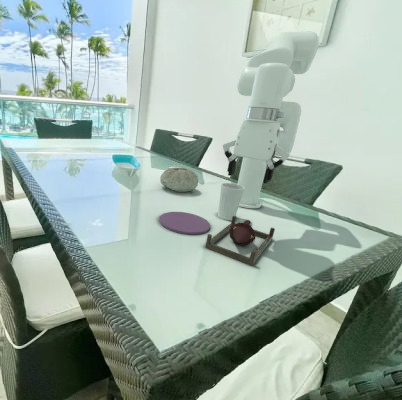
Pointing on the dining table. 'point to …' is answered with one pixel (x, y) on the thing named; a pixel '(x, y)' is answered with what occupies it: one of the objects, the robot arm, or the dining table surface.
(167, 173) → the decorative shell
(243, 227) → the dark red rounded piece
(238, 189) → the cup
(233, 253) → the frame
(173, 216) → the lid
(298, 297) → the dining table surface
